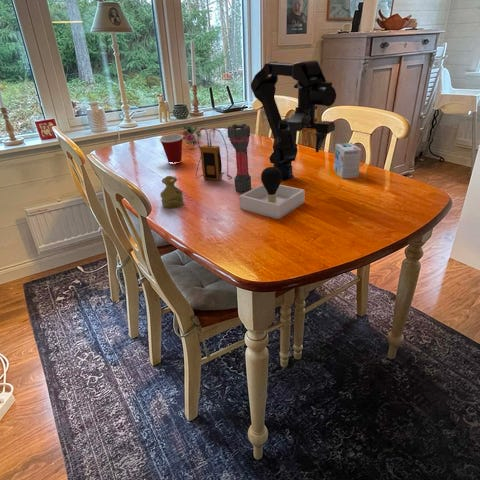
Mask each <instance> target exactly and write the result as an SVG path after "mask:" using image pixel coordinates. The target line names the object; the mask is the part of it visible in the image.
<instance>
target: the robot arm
mask: <svg viewBox="0 0 480 480" xmlns="http://www.w3.org/2000/svg"><path fill="white" fill-rule="evenodd" d="M279 76H283V77H284V76H285V77H291V78H292V79H293V80H294V81H296V82H297V83H295V84H294V86H293V88H294V89H297V90H298V91H297V107H295V111H294V114H293V115H291V116H290V117H286V118H283V119H282V117H281V113H280V111H279V108H278V104H277V101H276V98H275V95H276V89H277V88H276V84H277V83H278V80H279ZM250 89H251V91H252V93H253V96H254V97H255V98H256V99H257V100H258V101H259V102H260V103H261V105H262V108H263V110H264V113H265V116H266V119H267V122H268V126H269V128H270V131H271V133H272V136H273V139H274V140H273V144H272V149H273V150H272V151H273V152H272V153H271V155H270V156H269V157H268V159H269V162H270V164H273V167H276V168H278V169H279V170H280V171H281V173H282V181H287V180H289V179H291V178H293V177H294V174H293V166H292V162H295V161H296V157H297V154H298V152H299V151H298V144H297V136H298V132H301V131H303V129H310V130H315V132H316V133H315V134H314V135H315V138H316V140H315V153H319V151H320V149H321V147H322V144H323V142H324V140H325V139H326V137H327V135H328V134H331V132H333V131H335V129H336V124H335V122H334V121H329V120H323V121H320V122H317V119H318V118H316V110H317V109H318V106H322V107H323V106H324V107H331V106H333V104H334V103H335V102H336V99H337V93H336V88H334V87H333V83H332V82H331V81H330V82H329V81H328V82H327V80H326V77H325V75H324V73H323V71H322V68H321V66H320V64H319V61H317V60H316V59H315V60H307V61H306V60H305V61H298V62H294V63H291V62H280V61H279V62H278V61H268V62H266V63H264V65H263V67H262V68H261V69H260V70H259V71H258V72H257V73H256V74H255V75H254V76H253V78H252V81H251V82H250ZM316 122H317V123H316Z"/></svg>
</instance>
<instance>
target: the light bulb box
mask: <svg viewBox="0 0 480 480" xmlns="http://www.w3.org/2000/svg"><path fill="white" fill-rule="evenodd" d="M334 150H335V151H334V159H333V160H334V161H333V162H334V163H333V171H334V172H335V173H336V174H337V175H338V176H339V177H340V178H341V179H354V178H359V175H360V167H361V166H360V165H361V159H362V149H361V148H360V147H358V146H357V145H356V144H354V143H353V142H346V143H345V142H344V143H335V149H334Z"/></svg>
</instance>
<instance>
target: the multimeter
mask: <svg viewBox="0 0 480 480" xmlns="http://www.w3.org/2000/svg"><path fill="white" fill-rule="evenodd" d="M201 130H205V132H206V140H207V144H204V145H202V146H200V141H199V139H197V144H198V147H199V152H200V159H199V160H198V164H197V168H196V171H195V175H197V173H198V170H199V165H200V162H201V168H202V170H201V171H202V176H203V179H204V180H212V181H213V180H214V181H220V180H221V179H222V178H223V175H224V174H226V176H227V178H228V179H229V180H231V179H233V176H231V175H230V174H229V163H227V171H226V172H222V169H223V168H222V167H223V166H222V164H223V163H222V156H221V147H220V146H219V145H212V139H211V138H209V136H211V131H213V130H215V131H218V132H219V133H220V135H221V137H222V139H223V141H224V145H225V148H226V154H227V155H226V157H227V160H226V161H229V152H228V151H229V150H228V147H227V143H226V140H225V138H224V135H223V134H222V132H221V131H220V130H219V129H217V128H211V130H210V131H209V134H208V131H207V130H206V128H204V127H202V128H200V129H199V130H198V131H199V133H198V136H199V134H200V132H201ZM208 135H209V136H208ZM198 136H197V137H198Z"/></svg>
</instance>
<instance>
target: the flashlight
mask: <svg viewBox="0 0 480 480" xmlns="http://www.w3.org/2000/svg"><path fill="white" fill-rule="evenodd" d="M250 137H251V127H250V125H247V124H246V123H242V124H240V125H238V124H236V123H235V124H232V125H231V126H227V138H229V142H230V144H231V145H232V147H233V148H234V150H235V160H236V161H235V162H236V163H235V164H236V176H234V178H233V179H234V188H235V191H237V192H239V193H243V192H248V191H250V189H251V188H252V177H251V176H250V174H249V160H248V159H249V157H248V147H249V144H250Z"/></svg>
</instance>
